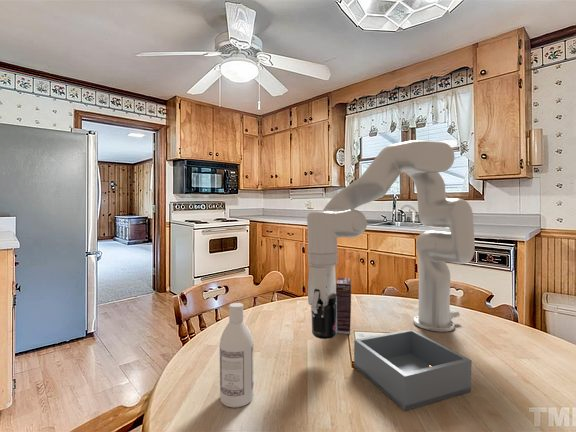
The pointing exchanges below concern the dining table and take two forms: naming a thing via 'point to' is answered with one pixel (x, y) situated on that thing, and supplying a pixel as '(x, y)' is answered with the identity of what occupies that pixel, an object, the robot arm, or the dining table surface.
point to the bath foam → (236, 360)
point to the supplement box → (343, 305)
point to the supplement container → (328, 319)
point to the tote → (412, 368)
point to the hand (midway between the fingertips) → (324, 325)
